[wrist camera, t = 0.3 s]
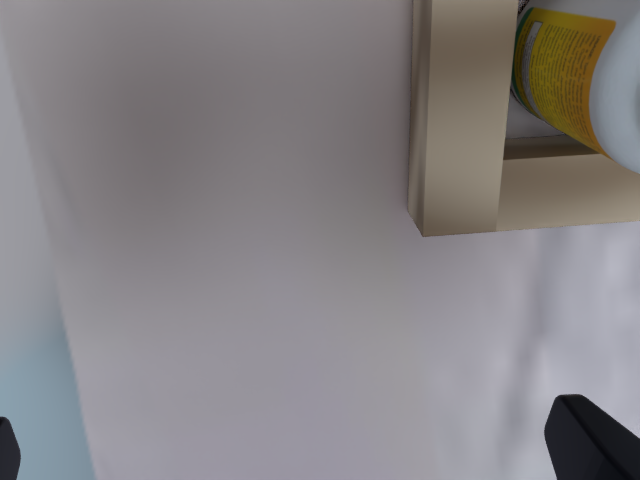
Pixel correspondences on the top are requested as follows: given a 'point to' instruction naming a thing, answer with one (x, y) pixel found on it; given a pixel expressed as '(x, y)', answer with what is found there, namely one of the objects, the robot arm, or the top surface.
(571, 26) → the supplement bottle
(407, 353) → the top surface
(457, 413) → the top surface
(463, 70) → the socket block
